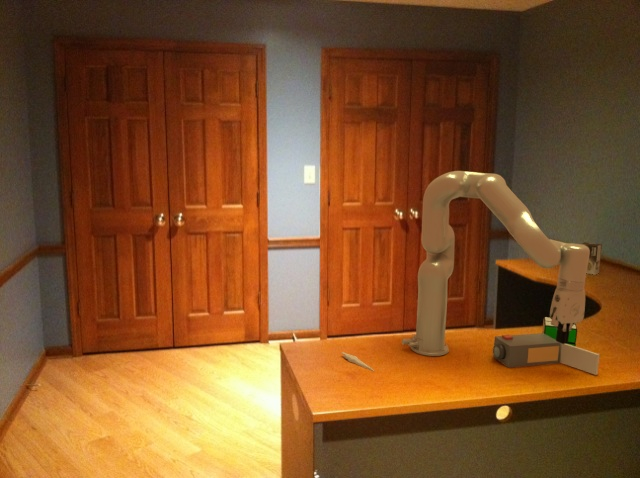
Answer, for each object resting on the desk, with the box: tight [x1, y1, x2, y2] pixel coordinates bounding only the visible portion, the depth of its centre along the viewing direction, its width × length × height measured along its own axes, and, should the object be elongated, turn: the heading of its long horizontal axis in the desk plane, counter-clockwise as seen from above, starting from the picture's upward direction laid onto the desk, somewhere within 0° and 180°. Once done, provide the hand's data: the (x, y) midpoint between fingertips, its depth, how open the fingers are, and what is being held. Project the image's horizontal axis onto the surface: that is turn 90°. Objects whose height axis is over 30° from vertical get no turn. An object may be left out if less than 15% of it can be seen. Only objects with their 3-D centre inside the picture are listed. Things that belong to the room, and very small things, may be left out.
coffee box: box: [580, 241, 602, 276], centre depth 311 cm, size 9×6×16 cm
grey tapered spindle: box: [341, 351, 375, 372], centre depth 179 cm, size 15×3×2 cm, turn 39°
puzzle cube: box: [541, 316, 578, 347], centre depth 194 cm, size 10×10×10 cm
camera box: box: [492, 332, 560, 368], centre depth 185 cm, size 20×9×8 cm, turn 104°
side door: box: [558, 343, 600, 376], centre depth 179 cm, size 13×2×7 cm, turn 37°
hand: (561, 342), depth 176 cm, fingers closed
